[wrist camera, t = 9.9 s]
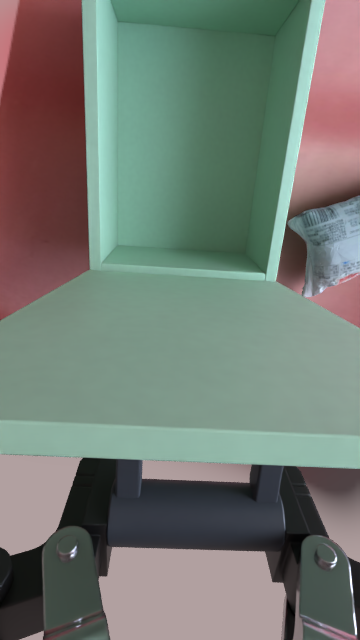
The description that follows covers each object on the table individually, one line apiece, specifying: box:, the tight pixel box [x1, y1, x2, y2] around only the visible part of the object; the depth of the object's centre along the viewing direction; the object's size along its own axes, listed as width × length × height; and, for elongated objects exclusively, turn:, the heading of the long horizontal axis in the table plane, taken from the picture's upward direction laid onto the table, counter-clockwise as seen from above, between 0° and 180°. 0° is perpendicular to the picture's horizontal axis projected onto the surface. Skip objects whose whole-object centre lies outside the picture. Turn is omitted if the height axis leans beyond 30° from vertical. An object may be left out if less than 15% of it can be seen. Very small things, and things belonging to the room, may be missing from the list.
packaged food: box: [287, 195, 360, 297], centre depth 33 cm, size 9×12×5 cm
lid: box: [0, 270, 360, 552], centre depth 17 cm, size 21×15×5 cm
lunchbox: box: [82, 0, 325, 282], centre depth 28 cm, size 20×15×9 cm
